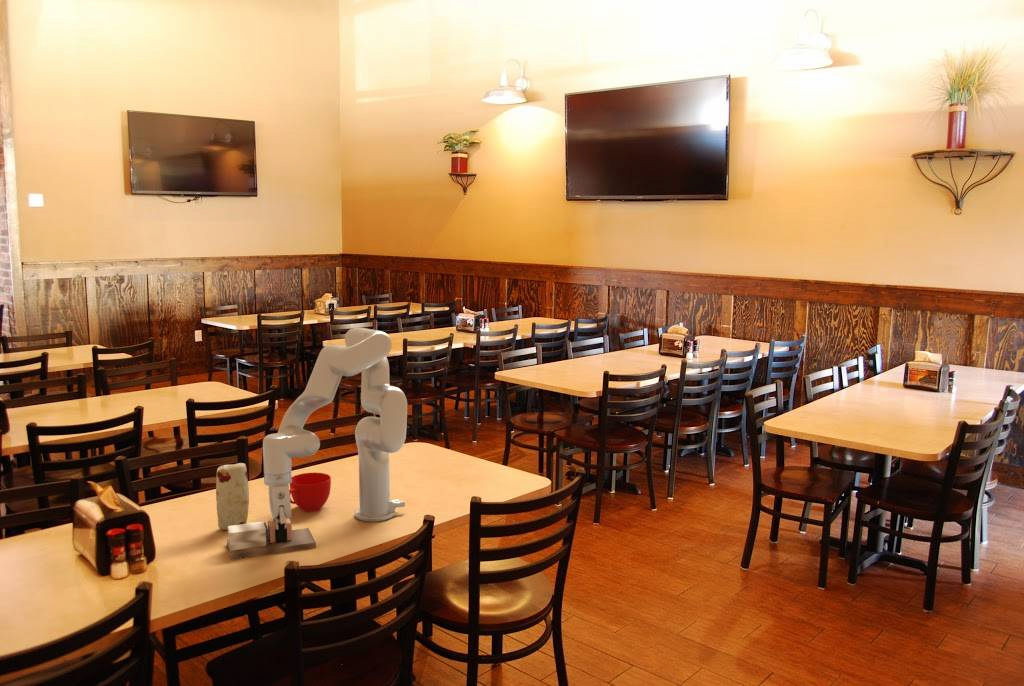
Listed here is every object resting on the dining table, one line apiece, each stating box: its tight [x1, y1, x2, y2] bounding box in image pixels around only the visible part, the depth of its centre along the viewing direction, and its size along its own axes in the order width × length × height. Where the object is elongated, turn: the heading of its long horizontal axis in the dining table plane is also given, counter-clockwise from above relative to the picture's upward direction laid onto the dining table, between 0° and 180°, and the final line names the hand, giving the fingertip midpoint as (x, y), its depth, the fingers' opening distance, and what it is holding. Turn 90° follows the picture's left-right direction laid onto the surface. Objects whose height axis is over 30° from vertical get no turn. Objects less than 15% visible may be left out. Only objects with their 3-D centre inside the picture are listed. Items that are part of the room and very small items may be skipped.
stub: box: [267, 518, 293, 543], centre depth 232 cm, size 6×4×5 cm, turn 114°
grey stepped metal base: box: [226, 521, 317, 561], centre depth 232 cm, size 23×12×6 cm, turn 114°
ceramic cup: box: [289, 472, 332, 512], centre depth 261 cm, size 13×17×10 cm
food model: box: [215, 462, 250, 531], centre depth 244 cm, size 10×7×20 cm
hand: (280, 538), depth 233 cm, fingers closed on stub, 4 cm apart
